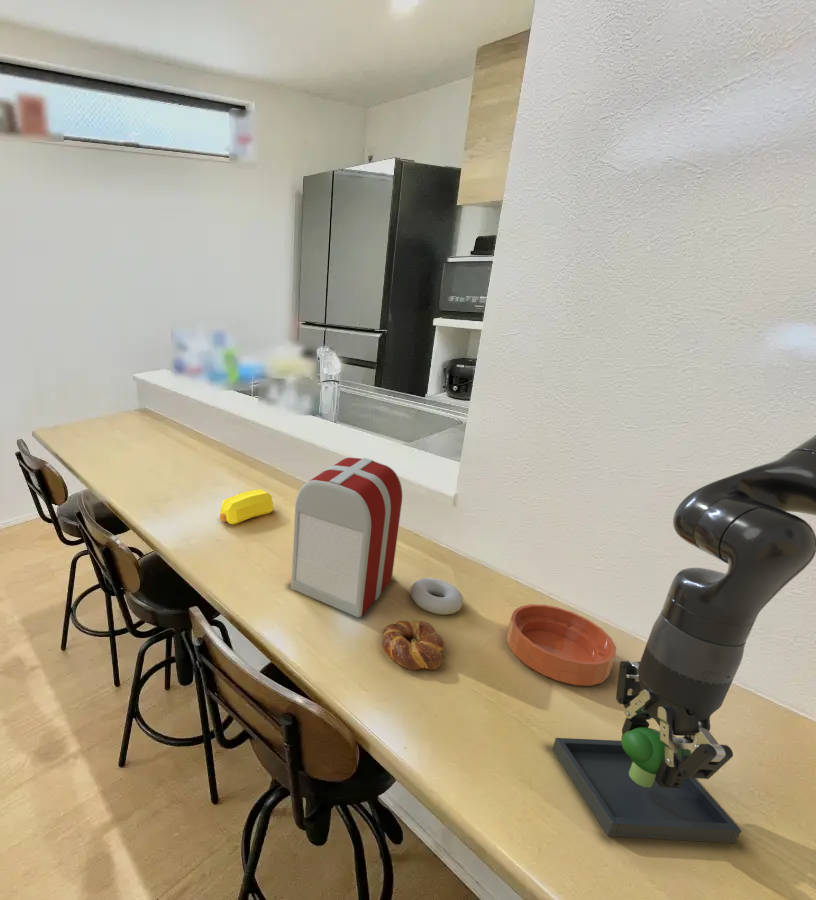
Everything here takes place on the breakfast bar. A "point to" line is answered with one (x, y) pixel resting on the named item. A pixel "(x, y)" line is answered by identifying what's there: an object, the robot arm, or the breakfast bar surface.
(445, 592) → the donut
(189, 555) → the breakfast bar surface
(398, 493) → the red grey arched block
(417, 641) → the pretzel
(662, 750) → the broccoli
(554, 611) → the bowl
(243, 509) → the yellow faceted capsule
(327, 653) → the breakfast bar surface
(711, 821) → the tray
